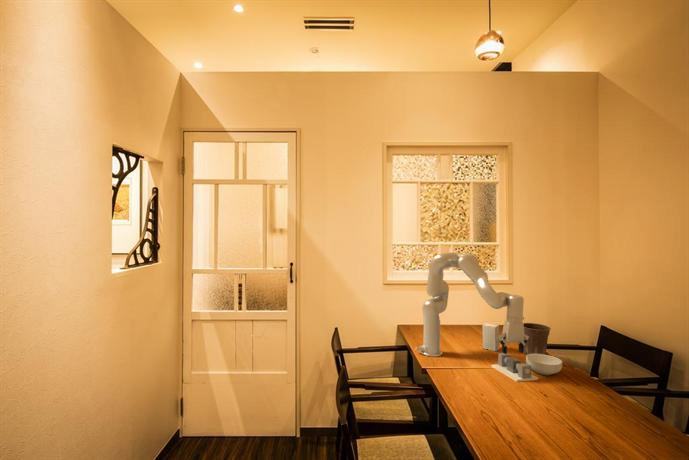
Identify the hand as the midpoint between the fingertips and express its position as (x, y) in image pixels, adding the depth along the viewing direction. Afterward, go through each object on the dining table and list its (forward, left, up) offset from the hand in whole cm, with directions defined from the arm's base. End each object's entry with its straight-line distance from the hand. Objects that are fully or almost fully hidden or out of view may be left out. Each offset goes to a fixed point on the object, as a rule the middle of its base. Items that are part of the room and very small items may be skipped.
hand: (512, 352), depth 197 cm
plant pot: (+32, +23, -10) cm, 41 cm away
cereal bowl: (+16, -3, -10) cm, 20 cm away
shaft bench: (0, -1, -10) cm, 10 cm away
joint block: (0, -1, -9) cm, 9 cm away
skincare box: (+11, +35, -10) cm, 39 cm away
